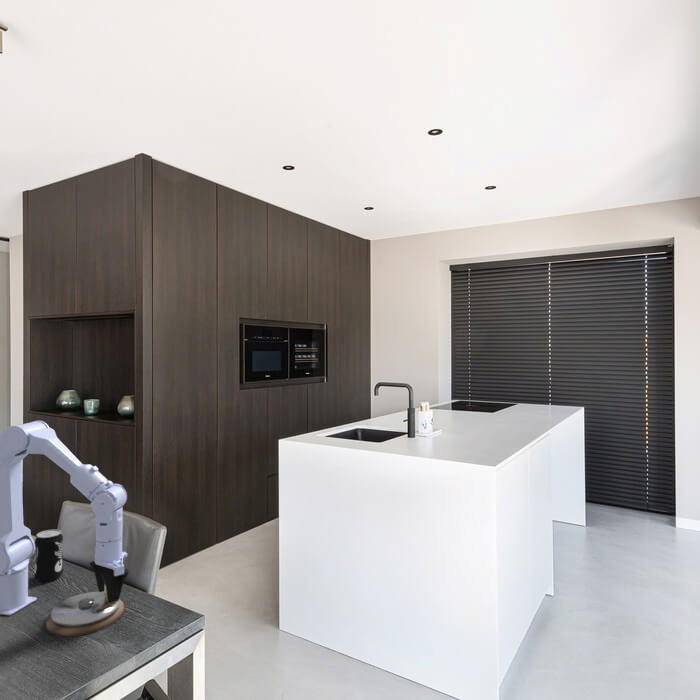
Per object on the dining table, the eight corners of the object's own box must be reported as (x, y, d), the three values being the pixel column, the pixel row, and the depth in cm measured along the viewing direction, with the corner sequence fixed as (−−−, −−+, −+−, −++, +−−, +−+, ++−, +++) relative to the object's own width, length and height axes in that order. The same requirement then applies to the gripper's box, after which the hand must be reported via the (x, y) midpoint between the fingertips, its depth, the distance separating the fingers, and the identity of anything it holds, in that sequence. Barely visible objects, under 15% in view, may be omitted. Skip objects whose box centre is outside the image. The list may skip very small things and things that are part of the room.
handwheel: (45, 632, 111) (45, 605, 111) (57, 601, 124) (57, 578, 124) (117, 620, 116) (117, 595, 116) (121, 592, 129) (121, 569, 129)
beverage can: (49, 584, 136) (50, 538, 136) (28, 581, 137) (28, 536, 137) (68, 573, 142) (68, 529, 142) (47, 571, 143) (47, 528, 143)
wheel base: (28, 630, 114) (28, 612, 114) (85, 593, 131) (85, 577, 131) (91, 640, 110) (92, 621, 110) (142, 600, 127) (142, 584, 127)
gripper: (137, 542, 120) (137, 601, 120) (116, 526, 131) (115, 580, 131) (105, 550, 115) (105, 611, 115) (86, 533, 126) (85, 588, 126)
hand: (108, 595), depth 123 cm, fingers open, 6 cm apart
